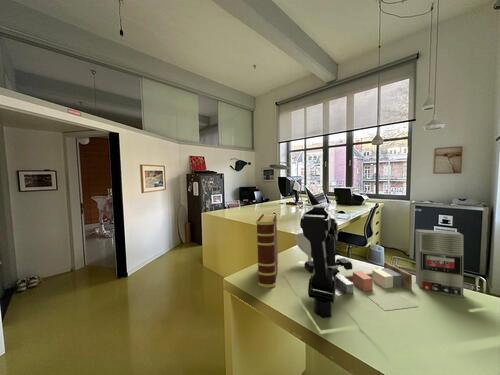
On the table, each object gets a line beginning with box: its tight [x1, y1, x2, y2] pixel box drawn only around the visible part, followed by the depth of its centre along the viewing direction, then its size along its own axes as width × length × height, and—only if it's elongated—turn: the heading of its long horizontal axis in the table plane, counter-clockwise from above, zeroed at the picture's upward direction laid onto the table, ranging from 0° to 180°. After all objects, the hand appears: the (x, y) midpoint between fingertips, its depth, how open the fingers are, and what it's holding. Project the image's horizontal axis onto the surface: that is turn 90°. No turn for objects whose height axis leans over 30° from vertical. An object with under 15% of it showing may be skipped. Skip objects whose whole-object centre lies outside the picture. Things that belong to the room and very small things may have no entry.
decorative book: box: [255, 213, 279, 289], centre depth 102 cm, size 22×8×30 cm, turn 168°
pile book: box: [366, 292, 419, 312], centre depth 76 cm, size 9×13×2 cm
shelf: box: [343, 261, 413, 291], centre depth 88 cm, size 13×33×8 cm, turn 98°
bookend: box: [334, 273, 354, 296], centre depth 86 cm, size 9×7×4 cm
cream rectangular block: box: [371, 268, 394, 289], centre depth 89 cm, size 7×4×6 cm, turn 8°
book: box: [380, 268, 403, 288], centre depth 90 cm, size 7×4×6 cm, turn 8°
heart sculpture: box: [294, 231, 313, 266], centre depth 115 cm, size 16×5×18 cm, turn 54°
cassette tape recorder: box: [414, 229, 466, 299], centre depth 83 cm, size 14×6×25 cm, turn 64°
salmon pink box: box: [352, 270, 373, 292], centre depth 88 cm, size 7×4×6 cm, turn 8°
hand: (328, 285), depth 86 cm, fingers closed
